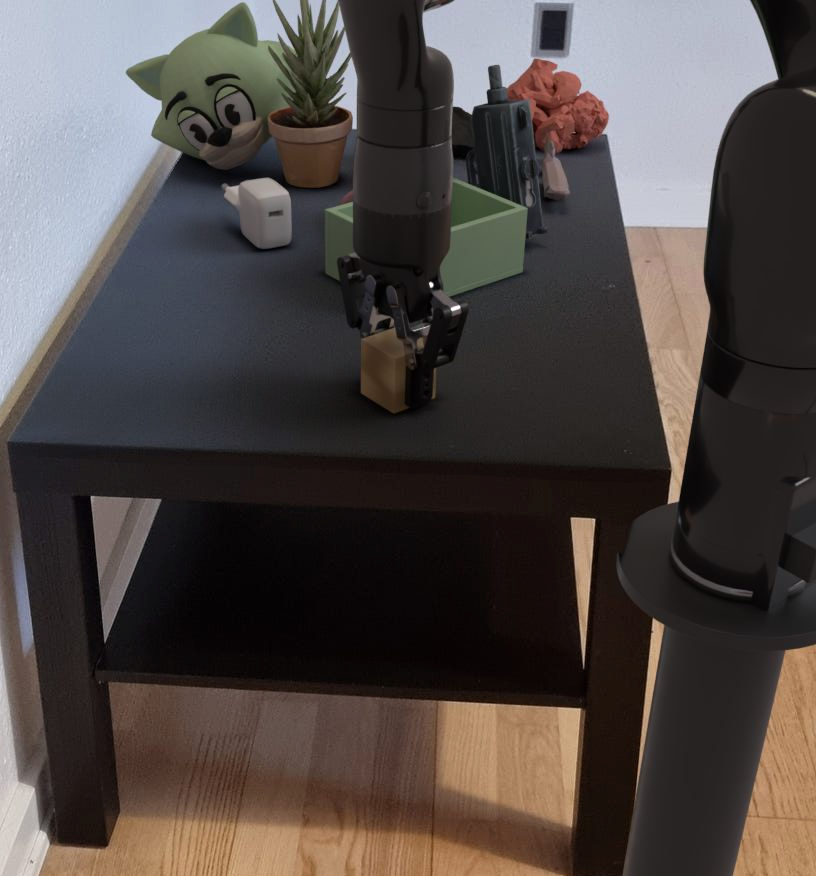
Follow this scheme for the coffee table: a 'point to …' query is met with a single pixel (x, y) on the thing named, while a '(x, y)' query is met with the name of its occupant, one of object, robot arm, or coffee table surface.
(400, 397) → the block
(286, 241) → the power adapter
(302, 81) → the potted plant
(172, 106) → the toy
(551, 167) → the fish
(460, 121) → the rock
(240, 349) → the coffee table surface
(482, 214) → the bin
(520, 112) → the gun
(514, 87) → the anatomical model
